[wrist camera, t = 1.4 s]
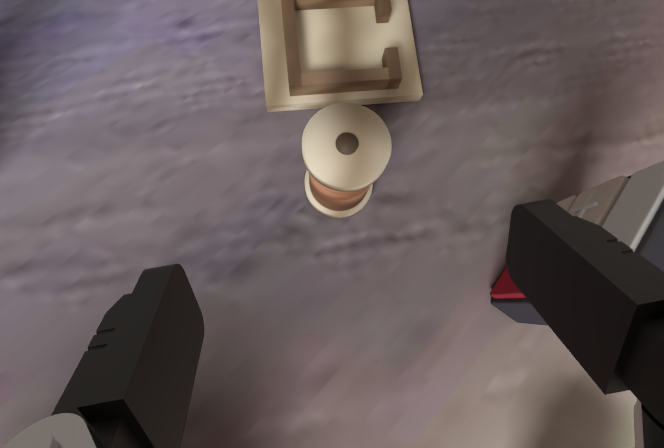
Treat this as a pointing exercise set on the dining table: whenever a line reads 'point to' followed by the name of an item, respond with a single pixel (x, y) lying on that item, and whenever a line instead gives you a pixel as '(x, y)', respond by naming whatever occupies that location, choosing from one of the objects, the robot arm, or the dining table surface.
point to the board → (337, 53)
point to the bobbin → (344, 157)
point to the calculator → (614, 216)
